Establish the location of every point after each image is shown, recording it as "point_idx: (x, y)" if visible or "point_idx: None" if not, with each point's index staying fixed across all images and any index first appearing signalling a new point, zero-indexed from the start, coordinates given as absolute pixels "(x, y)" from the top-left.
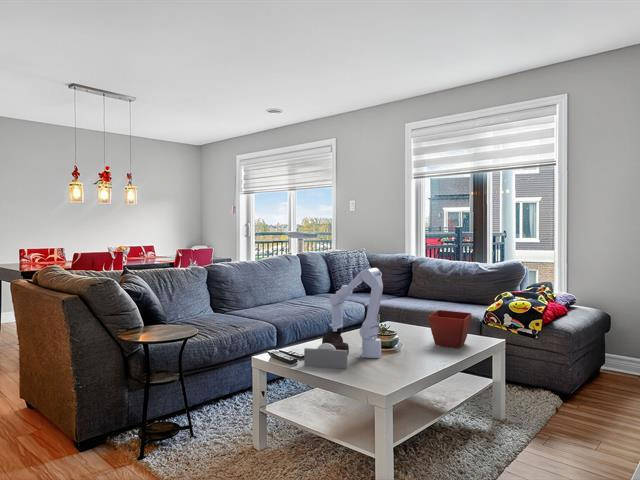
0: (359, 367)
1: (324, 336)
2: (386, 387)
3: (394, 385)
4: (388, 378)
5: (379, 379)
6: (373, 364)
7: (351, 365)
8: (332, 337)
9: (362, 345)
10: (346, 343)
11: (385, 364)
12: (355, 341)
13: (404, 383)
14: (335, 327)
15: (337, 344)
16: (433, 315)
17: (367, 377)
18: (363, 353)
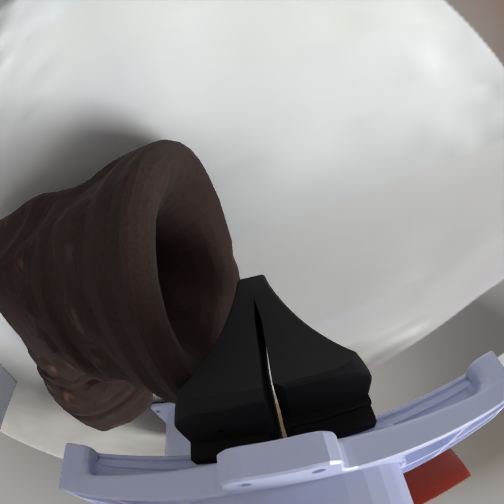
0: (50, 408)
1: (89, 237)
2: (20, 437)
3: (39, 446)
4: (55, 445)
5: (35, 434)
6: (109, 432)
7: (41, 390)
8: (95, 364)
9: (177, 451)
10: (97, 429)
11: (137, 447)
12: (466, 270)
13: (61, 456)
14: (114, 500)
15: (56, 385)
16: (434, 491)
17: (20, 419)
18: (169, 420)
